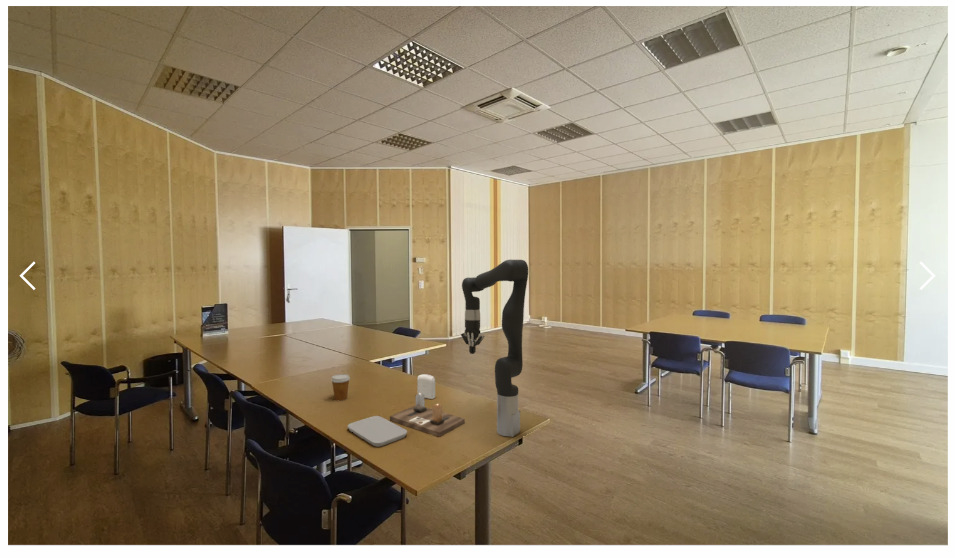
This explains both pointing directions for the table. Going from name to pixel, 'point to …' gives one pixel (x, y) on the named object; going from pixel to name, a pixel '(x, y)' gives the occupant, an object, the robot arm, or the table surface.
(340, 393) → the disposable coffee cup
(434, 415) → the copper switch
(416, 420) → the switch board
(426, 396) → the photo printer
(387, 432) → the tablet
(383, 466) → the table surface
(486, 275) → the robot arm
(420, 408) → the grey switch
